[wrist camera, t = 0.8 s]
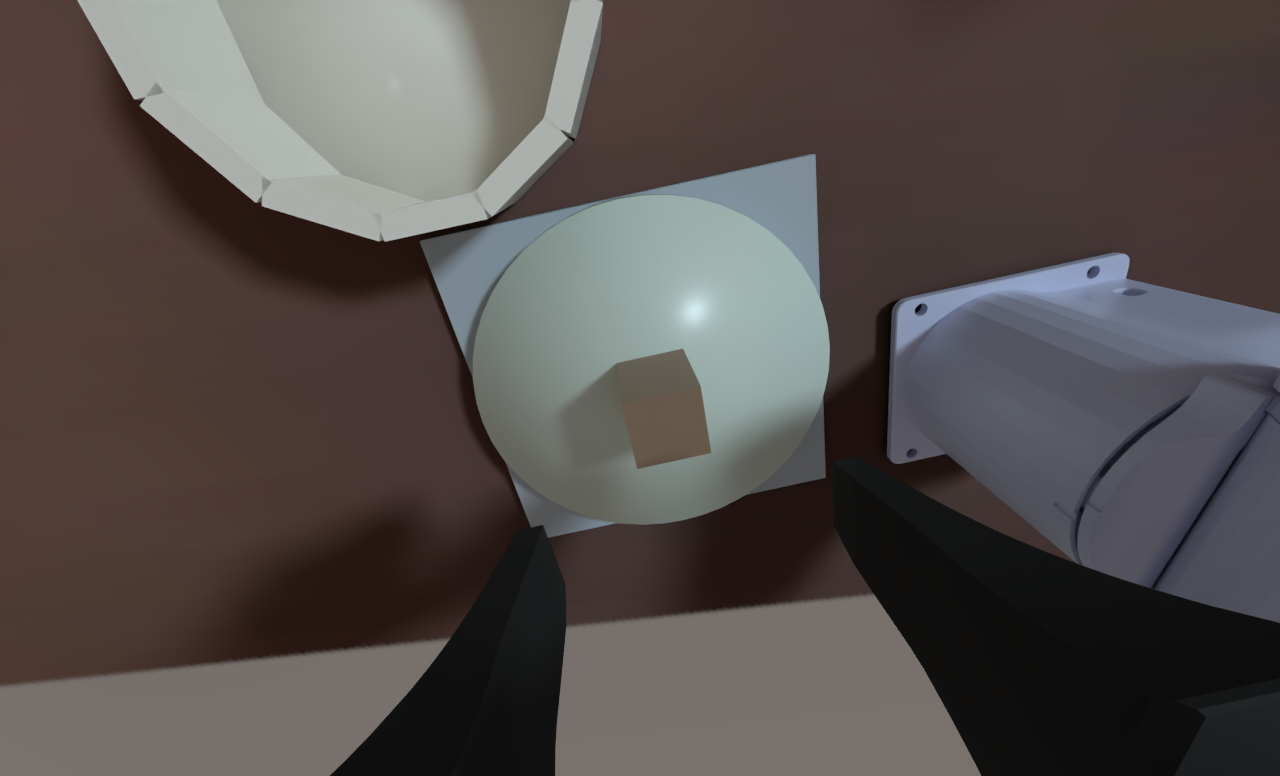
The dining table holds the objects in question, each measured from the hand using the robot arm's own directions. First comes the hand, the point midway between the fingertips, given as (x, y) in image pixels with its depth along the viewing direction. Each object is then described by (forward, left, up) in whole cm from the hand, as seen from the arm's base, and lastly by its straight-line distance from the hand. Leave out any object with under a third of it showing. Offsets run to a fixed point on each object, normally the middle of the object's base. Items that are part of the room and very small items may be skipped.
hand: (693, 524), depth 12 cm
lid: (0, 0, -9) cm, 9 cm away
